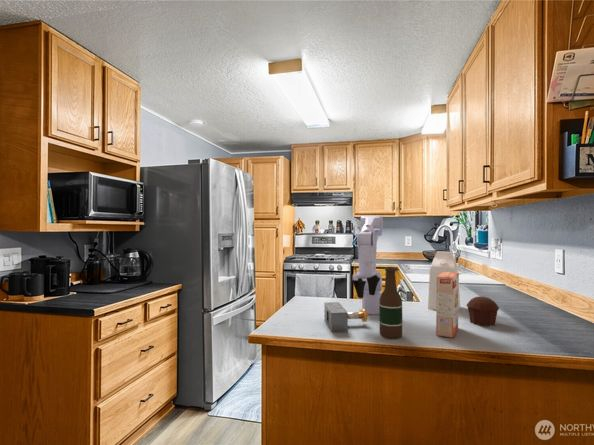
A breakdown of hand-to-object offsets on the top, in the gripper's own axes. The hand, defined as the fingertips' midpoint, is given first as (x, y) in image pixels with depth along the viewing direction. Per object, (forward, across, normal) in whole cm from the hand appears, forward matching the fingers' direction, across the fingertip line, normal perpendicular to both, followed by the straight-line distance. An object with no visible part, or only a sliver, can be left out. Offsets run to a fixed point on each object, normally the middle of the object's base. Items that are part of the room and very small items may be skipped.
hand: (366, 296), depth 137 cm
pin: (+9, +6, -2) cm, 11 cm away
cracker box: (+11, -12, +27) cm, 32 cm away
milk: (+11, -45, +11) cm, 47 cm away
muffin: (+11, -32, +32) cm, 47 cm away
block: (+10, +12, -6) cm, 17 cm away
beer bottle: (+11, +7, +15) cm, 20 cm away
